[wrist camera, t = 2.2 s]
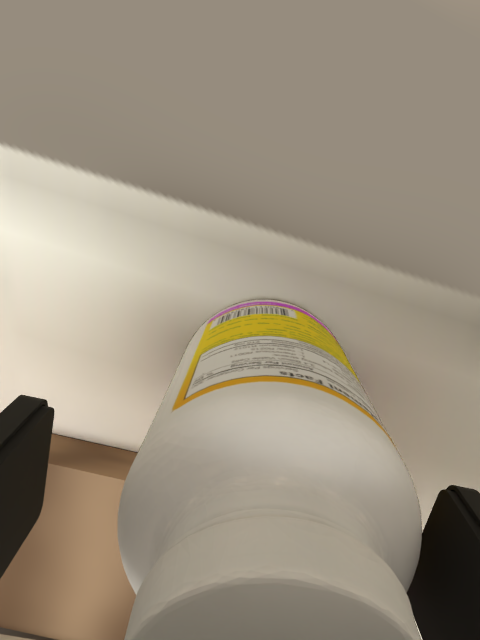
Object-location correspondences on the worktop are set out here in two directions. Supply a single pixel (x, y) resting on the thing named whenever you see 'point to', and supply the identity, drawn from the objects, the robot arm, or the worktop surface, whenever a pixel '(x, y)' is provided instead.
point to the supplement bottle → (268, 494)
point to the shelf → (72, 551)
